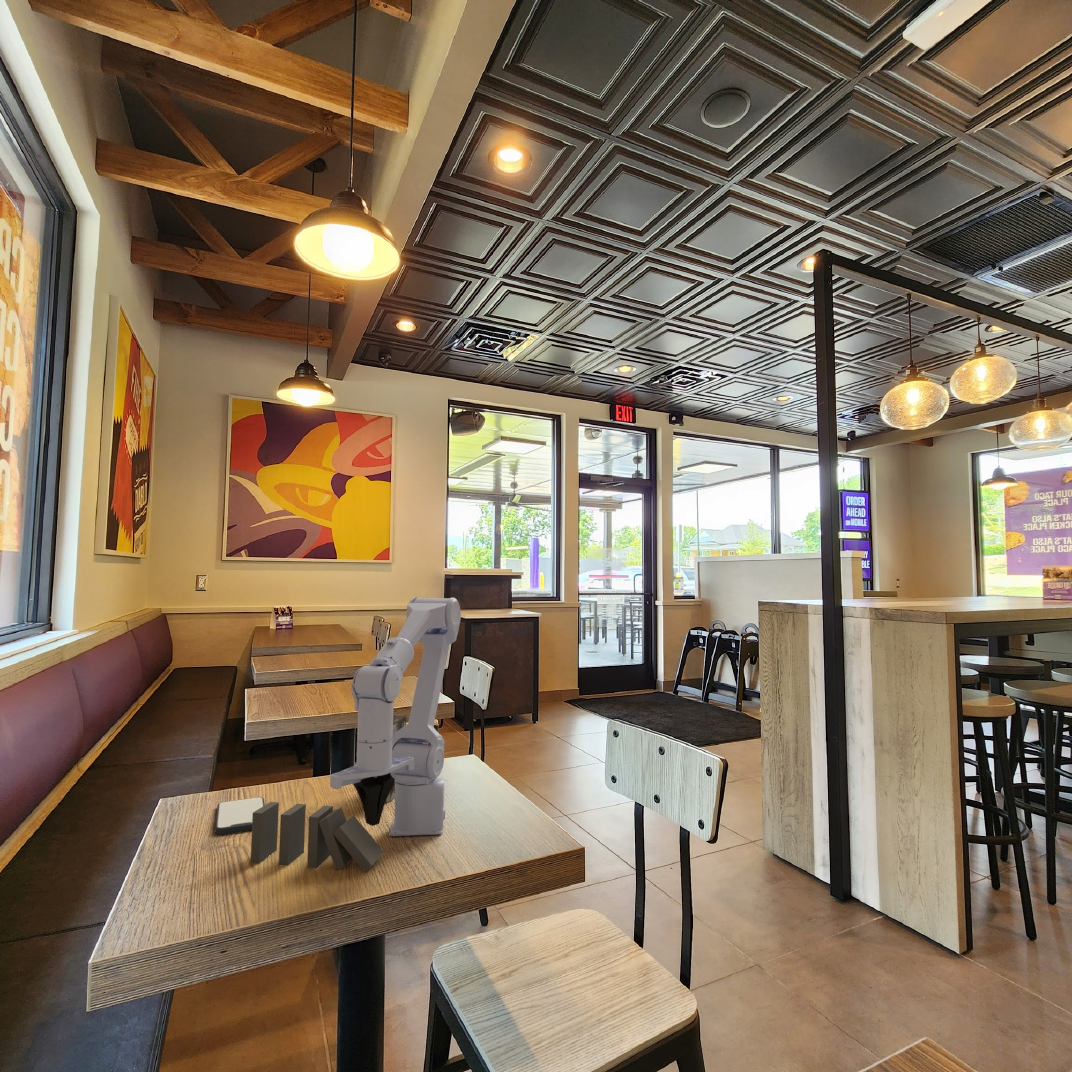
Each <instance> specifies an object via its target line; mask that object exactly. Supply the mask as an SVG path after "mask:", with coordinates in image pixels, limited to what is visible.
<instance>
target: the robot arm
mask: <svg viewBox="0 0 1072 1072" xmlns="http://www.w3.org/2000/svg"><path fill="white" fill-rule="evenodd" d="M461 619H462V612H461V605H460V603H459V601H458V600H457V598H455V597H450V598H449V597H448V598H446V597H444V598H443V597H442V598H441V597H418V596H414V597H412V598H411V599H410V600H409V602H408V603H407V607H406V620H405V622H404V623H403V626H402V627H401V629H400V631H399V632H398V634H397V636H394V637H390V638H388V639H387V640H386V642H385V643H384V644H382V645H383V646H382V647H381V648H380V649H379V650H378V652H377V653H376V655H375V657H373V659H372V660H371V661H370V663H369V664H368V665H363V666H361V667H360V668H358V669H357V670H356V671H355V673H354V676H353V677H352V684H351V689H350V690H351V693H352V696H353V699H354V709H355V711H356V712H357V733H356V734H357V737H356V764H355V765H353V766H350V767H349V768H345V769H343V770H341V771H338V772H334V773H332V774H331V773H330V776H329V777H330V778H329V779H330V780H329V787H330V788H332V789H334V790H336V791H337V790H340V789H342V788H343V787H345V786H349V785H353V786H354V787H353V788H354V789H355V791H356V793H357V795H358V797H359V800H360V803H361V806H362V809H363V813H364V819H365V823H366V824H367V825H369V826H371V827H375V826H377V825H379V824H380V822H381V818H382V814H383V810H384V807H385V805H386V803H387V802H386V799H387V797H388V795H389V793H390V791H391V789H392V788H393V786H394V783H395V798H394V813H393V814H394V819H393V821H392V825H391V827H390V831H389V836H390V837H401V836H404V837H405V836H407V837H409V836H427V835H428V836H430V835H432V836H433V835H434V836H435V835H441V834H443V829H444V820H445V819H446V809H445V778H442V777H441V778H439V776H440V774H441V773H442V772H443V768H444V764H445V763H444V761H445V753H444V752H445V739H444V737H443V736H442V735H441V734H440V732H438V731H437V729H436V728H435V727H434V726H435V720H436V715H437V712H438V711H437V710H438V704H439V701H440V694H441V690H442V684H443V678H444V674H445V669H446V664H447V659H448V654H449V648H450V645H451V644H453V643H455V642H456V641H457V638H458V637H457V636H458V634H459V629H460V624H461ZM418 642H419V643H421V644H422V645H423V651H422V657H421V661H420V667H419V671H418V675H417V680H416V686H415V690H414V695H413V699H412V703H411V709H410V713H409V718H408V723H406V726H404V727H403V728H401V729H400V730H398V731H397V732H396V733H395V734H394V737H393V715H394V701H396V699H397V698H398V696H399V695H400V692H401V686H402V685H401V684H402V683H403V680H404V675H403V674H405V672H406V670H407V668H408V667H409V665H410V664H411V663H412V661H413V659H414V657H415V649H414V647H415V646H416V645H417V643H418ZM391 776H392V777H391Z"/></svg>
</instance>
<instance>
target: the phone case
mask: <svg viewBox="0 0 1072 1072" xmlns="http://www.w3.org/2000/svg"><path fill="white" fill-rule="evenodd" d="M264 805H266V804H265V798H264V797H261V796H260V797H259V796H258V797H251V798H243V799H242V798H241V799H236V800H235V799H234V800H228V801H222V802H219V803H217V808H216V815H215V816H216V818H215V819H214V825H215V826H214V834H216V835H215V836H227V835H232V833H233V834H238V832H240V833H245V832H252V817H253V812H255V811H256V810H258V809H260V808H261V807H263V806H264Z"/></svg>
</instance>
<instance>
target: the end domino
mask: <svg viewBox="0 0 1072 1072" xmlns="http://www.w3.org/2000/svg"><path fill="white" fill-rule="evenodd" d="M279 809H280V803H279V802H278V801H269V802H267V803H266V804H265V805H264V806H263V807H261V808H260V809H258V810H256V811H255V812H253V817H252V831H251V842H250V845H251V846H250V863H251V864H261V863H262V862H264V861H265V860H266V859H268V858H269V857H270V856H271V855H273V854H274V853H275V852H277V851H278V837H279V835H278V834H279ZM272 853H273V854H272ZM269 855H270V856H269ZM268 856H269V857H268ZM260 862H261V863H260Z"/></svg>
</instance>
